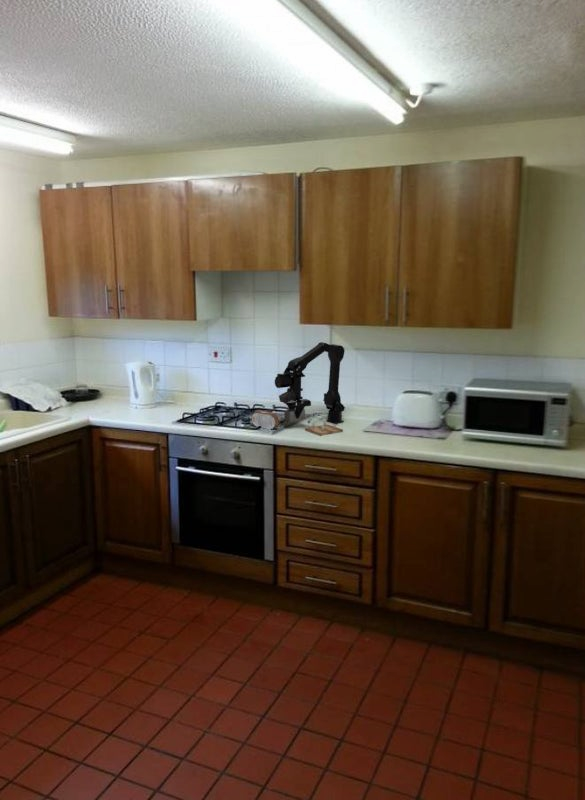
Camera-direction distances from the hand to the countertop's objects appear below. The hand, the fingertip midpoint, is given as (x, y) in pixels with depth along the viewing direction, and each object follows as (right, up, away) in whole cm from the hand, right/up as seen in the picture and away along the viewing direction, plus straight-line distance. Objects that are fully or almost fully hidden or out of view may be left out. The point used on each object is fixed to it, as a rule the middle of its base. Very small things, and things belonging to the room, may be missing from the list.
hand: (294, 417), depth 315 cm
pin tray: (+14, -6, -5) cm, 16 cm away
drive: (0, -1, 0) cm, 1 cm away
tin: (-15, -5, -1) cm, 16 cm away
